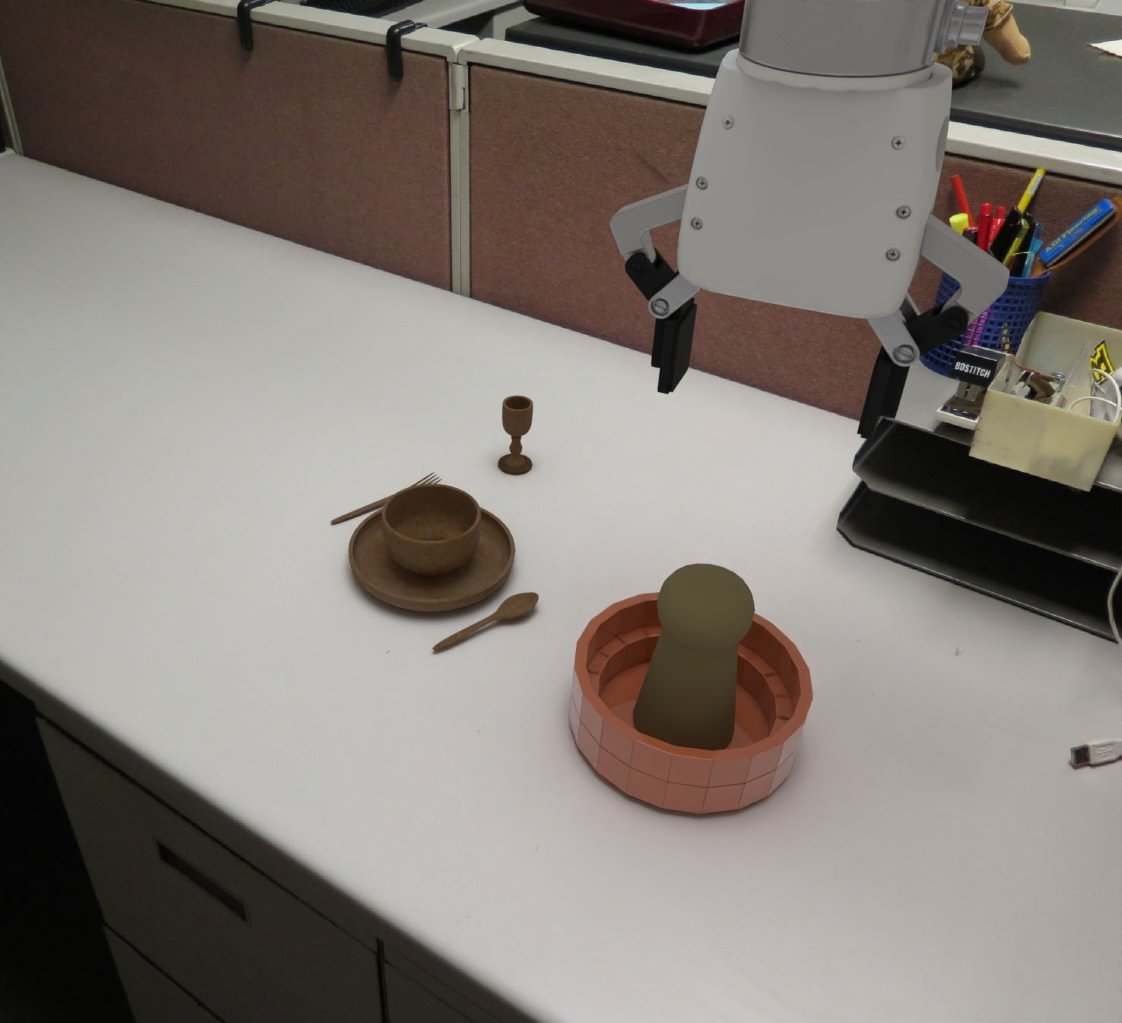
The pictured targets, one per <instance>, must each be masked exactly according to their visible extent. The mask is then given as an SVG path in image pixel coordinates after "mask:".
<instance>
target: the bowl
mask: <svg viewBox="0 0 1122 1023" xmlns="http://www.w3.org/2000/svg"><path fill="white" fill-rule="evenodd" d="M659 592H660V591H656V592H646V593H639V594H636V595H633V596H630V597H628V598H625V599H621V600H619V601H617V602H614V603H612V604H610V605H609V606H607V607H606V608H605V609H603V610H602V611H600V612H599V613H598V614H597V615H595V616H594V617H593V618H591V619H590V620H589V621H588V623H587V624H586V626H585V628H584V629H583V631H582V633H581V634H580V636H579V637H578V639H577V640H576V643H575V654H574V662H573V671H572V673H573V674H572V682H571V690H570V691H571V692H570V700H569V701H570V702H569V712H568V721H569V724H570V727H571V730H572V733H573V737H574V740H575V744H576V745H577V748H578V750H579V751H580V752H581V753H582V755H583V756H584V757H585V759H586V760H587V762H589V763H590V765H591V766H592V768H593V769H594V770H595V772H597V774H599V775H600V776H602V777H603V778H604V779H606V780H607V781H609V782H610V783H611V784H612V785H614V786H615V787H616V788H618V789H619V790H621V792H623V793H625V794H626V795H628V796H631V797H633V798H636V799H638V800H641V801H643V802H646V803H648V804H650V805H653V806H655V807H658V808H661V809H665V810H672V811H679V812H687V813H691V814H707V813H716V812H717V813H718V812H726V811H733V810H740V809H743V808H745V807H746V806H749V805H752V804H754V803H755V802H758V801H760V800H762V799H765V798H767V797H769V796H770V795H772V793H773V792H774V791H775V790H776V789H777V788H778V787H779V786H780V785H781V784H782V783H783V782H784V781H785V780H786V779H787V778H788V777H789V775H790V774H791V771H792V767H793V765H794V762H795V759H796V757H797V753H798V750H799V747H800V744H801V740H802V737H803V733H804V730H805V727H806V723H807V720H808V718H809V713H810V710H811V707H812V704H813V700H814V691H813V684H812V683H813V682H812V676H811V670H810V667H809V666H808V664H807V663H806V661H805V659H804V657H803V655H802V653H801V651H800V650H799V649H798V646H797V645H796V644H795V642H794V641H793V640H791V639H790V638H789V637H788V636H787V635H786V634H785V633H784V632H782V630H780V629H779V628H778V627H777V626H776V625H775V624H774V623H773V622H771V621H770V620H768V619H766V618H765V617H763V616H761V615H760V614H758V613H756V612H754V616H753V620H752V624H751V627H750V629H749V631H748V632H747V634H746V635H745V636H744V638H743V639H742V640H741V641H740V642H739V643H738V659H737V683H736V706H735V729H734V734H733V738H732V741H731V743H730V744H729V745H728V746H727V747H726V749H722V750H713V751H710V750H703V749H695V748H688V747H680V746H674V745H671V744H669V743H666V742H664V741H661V740H658V739H656V738H653V737H650V736H648V735H645V734H642V733H640V732H638V731H637V730H636V728H635V726H634V723H633V710H634V707H635V704H636V701H637V698H638V696H639V693H640V690H641V687H642V684H643V681H644V679H645V676H646V673H647V670H648V667H649V664H650V662H651V659H652V656H653V653H654V650H655V647H656V645H657V642H658V639H659V636H660V633H661V630H662V628H663V626H662V625H661V623H660V621H659V615H658V608H657V600H658V595H659Z"/></svg>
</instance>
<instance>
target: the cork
mask: <svg viewBox="0 0 1122 1023" xmlns="http://www.w3.org/2000/svg"><path fill="white" fill-rule="evenodd" d="M749 587H750V586H749V585H748V584H747V583H746V581H745V580H744V578H742V577H741V576H740V575H738V574H737V573H736V572H735V571H733V570H731V569H728V568H726V567H724V566H722V565H721V566H720V565H717V564H714V563H713V564H712V563H699V562H697V563H691V564H686V565H684V566H681V567H679V568H677V569H675V570H674V571H673V572H672V573H671V574H670V575H668V577H667V578H665V579H664V581H663V583H662V584H661V587H660V589H659V591H658V592H659V595H658V600H657V608H658V615H659V621H660V623H661V625H662V626H663V628H662V630H661V633H660V636H659V639H658V642H657V645H656V647H655V650H654V653H653V656H652V659H651V662H650V664H649V667H648V670H647V673H646V676H645V679H644V681H643V684H642V687H641V690H640V693H639V696H638V698H637V701H636V704H635V707H634V710H633V723H634V726H635V728H636V730H637V731H638V732H640V733H642V734H645V735H648V736H650V737H653V738H656V739H658V740H661V741H664V742H666V743H669V744H671V745H674V746H680V747H688V748H695V749H703V750H710V751H713V750H722V749H726V747H727V746H728V745H729V744H730V743H731V741H732V738H733V734H734V729H735V706H736V683H737V659H738V643H739V642H740V641H741V640H742V639H743V638H744V636H745V635H746V634H747V632H748V631H749V629H750V627H751V624H752V620H753V616H754V613H756V608H755V600H754V596H753V592H752V591H751V588H749Z"/></svg>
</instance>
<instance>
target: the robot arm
mask: <svg viewBox="0 0 1122 1023" xmlns="http://www.w3.org/2000/svg"><path fill="white" fill-rule="evenodd" d="M969 3H970V2H969V1H959V0H744V6H743V12H742V13H743V14H742V21H741V27H740V34H739V35H740V36H739V43H738V47H737V48H734V49H732V50H729V51H728V52H726V54H725V55H724V57H723V58H722V59H721V62H720V64H719V67H718V71H717V73H716V77H715V79H714V82H713V85H712V88H711V92H710V95H709V99H708V102H707V105H706V109H705V113H704V116H703V120H702V124H701V127H700V128H701V129H700V132H699V136H698V140H697V144H696V148H695V152H694V158H693V162H692V166H691V170H690V175H689V180H688V183H685V184H682V185H680V186H677V187H675V188H671V189H669V190H666V191H664V192H660V193H657V194H654V195H652V196H649V197H646V198H644V199H641V200H637V201H635V202H632V203H630V204H626V205H624V206H622V207H621V208H619V210H618V211H616V213H615V214H613V215H612V216H611V218H610V219H609V227H610V230H611V233H612V235H613V238H614V240H615V244H616V245H617V248H618V251H619V253H620V255H621V256H622V257H623V260H624V262H625V264H624V270H625V273H626V275H627V276H628V278H629V279H630V280H631V281H632V283H633V284H634V285H635V286H636V288H637V289H638V290H639V292H640V293H641V294H642V296H643V297H644V299H646V300H647V302H648V304H647V309H648V312H649V313H650V314H651V316H652V317H654V318H655V320H654V321H655V322H654V330H653V338H652V339H653V340H652V348H651V357H650V366H651V367H652V368H655V369H659V370H658V371H659V372H658V379H657V380H658V381H657V388H656V390H657V393H660V394H665V395H669V394H670V393H672V394H673V393H674V391H675V390H676V388H677V387H678V385H679V384H680V382H681V381H682V379H683V378H684V377H685V375H686V373H687V372H688V370H689V367H690V363H691V362H690V361H691V355H692V347H693V340H694V332H695V325H696V317H697V310H698V304H697V303H695V301H696V297H694V296H696V295H697V294H698V293H700V292H701V291H702V290H704V291H707V292H712V293H717V294H720V295H726V296H730V297H735V298H741V299H746V300H752V301H756V302H761V303H767V304H773V305H779V306H785V307H790V308H794V309H799V310H800V309H801V310H807V311H812V312H818V313H823V314H829V315H835V316H840V317H841V316H842V317H846V318H854V319H865V320H866V321H867V322H868V324H869V326H870V328H872V331H873V332H874V334H875V335H876V337H877V338H878V340H879V342H880V344H881V346H880V349H879V352H878V354H877V357H876V359H875V362H874V365H873V369H872V372H871V376H870V380H869V383H868V388H867V391H866V395H865V400H864V404H863V408H862V411H861V416H860V418H859V424H858V427H857V431H856V434H857V435H860V438H861V439H865V440H869V441H872V440H873V438H874V435H875V433H876V430H877V426H878V423H879V421H880V419H881V417H884V418H888V419H892V420H895V419H896V416H897V414H898V410H899V407H900V404H901V400H902V397H903V393H904V389H905V387H906V382H907V379H908V376H909V372H910V368H911V366H913V365H914V364H916V363H917V362H918V361H919V359H920V357H922V356H923V355H925V354H928V353H929V352H931V351H933V350H935V349H938V348H939V347H940V346H943V345H944V344H947V343H948V342H951V341H952V340H954V339H956V338H958V337H959V336H961V335H963V334H964V333H965V332H966V330H967V329H968V327H969V326H970V325H971V324H972V323H973V322H974V321H975V320H976V319H978V318H979V317H980V316H981V315H982V314H983V313H985V312H986V311H987V310H988V308H990V307H991V306H992V305H993V304H994V303H995V302H996V301H997V300H998V299H999V298H1000V297H1001V296H1002V295H1004V293H1005V292H1006V290H1007V288H1008V283H1009V280H1010V269H1009V268H1008V267H1007V266H1006V265H1005V264H1003V263H1002V262H1000V261H999V260H998V259H996V258H995V257H993V256H992V255H991V254H989V253H988V252H986V251H985V250H983V249H982V248H981V247H979V246H978V245H977V244H976V243H974V242H972V241H971V240H969V239H968V238H967V237H965V236H964V235H962V234H961V233H959V232H958V231H956V230H955V229H954V228H952V227H951V226H949V225H948V224H946V223H945V222H944V221H942V220H941V219H940V218H938V217H937V216H936V215H934V214H933V212H934V208H935V203H936V198H937V192H938V188H939V183H940V178H941V174H942V168H943V163H944V158H945V152H946V147H947V141H948V133H949V125H950V116H951V105H952V95H953V94H952V93H953V92H952V90H953V70H952V69H951V68H950V67H949V66H947V65H945V64H942V63H939V62H936V61H935V58H936V56H938V55H944V53H945V51H946V49H947V48H951V49H957V48H958V46H959V45H964V46H976V47H978V46H980V43H981V40H982V37H983V33H984V29H985V26H986V24H987V23H986V22H987V19H988V14H989V10H990V6H989V7H988V6H976V5H975V6H973V5H969ZM677 221H680V227H679V235H678V242H677V251H676V252H677V255H676V261H677V262H676V264H677V269H676V270H675V271H674V270H673V268H672V267H671V265H670V264H669V263H668V262H667V260H666V259H665V258H664V256H663V255H662V254H661V252H659V250H658V249H657V248H656V247H655V246H654V245H653V243H652V240H653V239H652V236H651V233H650V231H651V230H654V229H656V228H659V227H662V226H664V225H665V226H666V225H668V224H672V223H674V222H677ZM922 258H923V259H925V260H927V261H928V262H929V263H930V264H932V265H934V266H935V267H937V268H938V269H939V270H940V271H942V272H943V273H945V274H946V275H947V276H949V277H950V278H952V279H953V280H955V281H956V282H957V283H958V284H959V286H960V287H959V288H958V289H957V290H956V292H955V293H954V294H953V295H952V296H951V297H949V298H947V299H945V300H944V301H942V302H940V303H939V304H936V305H935V306H933V307H931V308H930V309H928V310H926V311H924V312H922V313H921V312H920V310H919V308H918V307H917V305H916V303H915V301H914V299H913V298H912V297H911V295H910V293H909V292H908V289H909V288H910V286H911V283H912V282H913V280H914V278H915V277H916V274H917V273H918V269H919V267H920V264H921V261H922Z"/></svg>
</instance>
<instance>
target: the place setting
mask: <svg viewBox="0 0 1122 1023" xmlns="http://www.w3.org/2000/svg"><path fill="white" fill-rule="evenodd" d="M533 415H534V402H533V400H532V399H531V398H529V397H527V396H525V395H509V396H507V397H504V399H503V401H502V406H501V423H502V427H503V430H504V432H505V433H506V434H507V435H508V436H510V439H511V442H510V445H509V447H508V450H509V452H510V453H507V454H504V455H501V457H499V459H498V461H497V466H498V468H499V469H500V471H502V472H504V473H507V474H510V475H522V474H523V475H524V474H525V473H527V472H529V471H530V470H531V469H532V467H533V461H532V459H531V458H530V457H529V456H528V455H526V454H525V455H524V454H522V452H523V445H522V442H521V441H522V437H523V436H525V435H527V434H528V433H529V431H530V430H531V427H532V423H533ZM434 474H435V472H434V471H433V472H431V473H429V474H428V475H425V477H423V478H421V479H420V480H418V481H416V482H415V483H413V484H412V485H410V486H408V487H405V488H403V489H401V490H399V491H397V492H395V493H394V494H390V495H388V496H385V497H384V498H382V499H379V500H376V501H374V502H372V503H369V504H366V505H363V506H362V507H359V508H357V509H355V510H352V511H349V512H347V513H345V514H343V515H340V516H337V517H336V518H334V519H332V520H330V523H331V524H336V523H339V522H340V523H341V522H342V521H345V520H348V519H350V518H353V517H356V516H359V515H360V514H363V513H365V512H368V511H370V510H373V509H375V508H377V507H380V506H382V508H380V509H378V510H376V511H374V512H373V513H371V514H369V515H368V516H367V517H366V518H365V519H363V520H362V521H361V522H360V523H359V524H358V526H356V528H355V529H354V531H353V532H352V534H351V536H350V539H349V541H348V548H347V553H348V560H349V565H350V569H351V571H352V573H353V575H354V577H355V578H356V580H357V581H358V583H359V584H360V585H361V586H362V588H364V589H365V590H366V591H367V592H368V593H370V594H371V595H372V596H373V597H375V598H376V599H378V600H380V601H382V602H384V603H387V604H389V605H391V606H394V607H397V608H401V609H405V610H408V611H409V610H410V611H414V612H416V611H417V612H425V613H426V612H429V613H431V612H435V613H436V612H447V611H452V610H458V609H461V608H465V607H468V606H471V605H474V604H476V603H478V602H480V601H481V600H484V599H486V598H487V597H489V596H490V595H492V594H493V593H494V592H496V591H497V589H499V588H500V587H501V586H502V585H503V584H504V582H505V581H506V580H507V578H508V576H509V575H510V573H511V571H512V569H513V566H514V562H515V555H516V543H515V540H514V536H513V534H512V532H511V531H510V529H509V528H508V526H507V525H506V524H505V522H504V521H502V520H501V519H500V518H499V517H498V516H497V515H495V514H494V513H492V512H490V511H489V510H487V509H485V508H483V507H482V506H480V505H479V503H478V501H477V499H475V497H474V496H472V495H471V494H469V493H468V492H466V491H464V490H463V489H460V488H458V487H455V486H452V485H447V484H444V483H443V484H441V483H439V482H441V481H442V480H443V478H440V476H438V473H436V474H435V475H434ZM436 480H437V481H436ZM539 600H540V596H539V594H538V593H537V592H533V591H529V592H528V591H527V592H520V593H516V594H513V595H510V596H509V597H507V598H505V599H504V601H502V602H501V604H500V605H499V606H498V608H497V609H496V611H495V612H493V613H492V614H490V615H488V616H486V617H484V618H483V619H481V620H478V621H477V622H474V623H473V624H471V625H469V626H467V627H464V628H463V629H461V630H459V631H457V632H455V633H453V634H451V635H449V636H447V637H445V638H444V639H442V640H440V641H439V642H437V643H436V644H435V645H434V646H433V647H432V650H433V651H434V652H435V651H439V650H441V649H444V648H446V647H449V646H451V645H453V644H454V643H456V642H458V641H460V640H462V639H464V638H466V637H467V636H469V635H471V634H472V633H474V632H476V631H478V630H479V629H481V628H483V627H485V626H487V625H488V624H491V623H493V622H495V621H497V620H501V619H503V620H511V619H516V618H519V617H522V616H524V615H526V614H528V613H529V612H531V611H532V610H533V609H534V608H535V606H536V605H537V604H538V602H539Z"/></svg>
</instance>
